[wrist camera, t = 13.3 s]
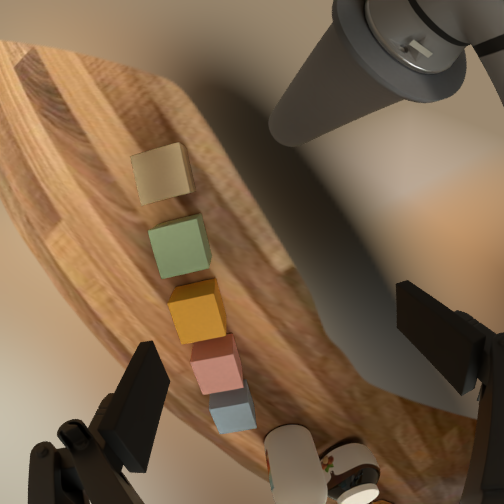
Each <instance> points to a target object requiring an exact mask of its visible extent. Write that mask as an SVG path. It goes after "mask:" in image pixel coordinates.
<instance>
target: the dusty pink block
mask: <svg viewBox="0 0 504 504" xmlns="http://www.w3.org/2000/svg"><path fill="white" fill-rule="evenodd" d="M190 364H191V366H192V369H193V371H194V374H195V376H196V379H197V381H198V384H199V386H200V389H201V391H202V394H203V395H205V394H211V393H217V392H223V391H229V390H234V389H239V388H244V385H243V373H242V364H241V360H240V357H239V353H238V350H237V347H236V343H235V340H234V336H233V333H231V334H226V336H223V337H218V338H213V339H208V340H203V341H198V342H194V344H193V349H192V355H191V360H190Z"/></svg>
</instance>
